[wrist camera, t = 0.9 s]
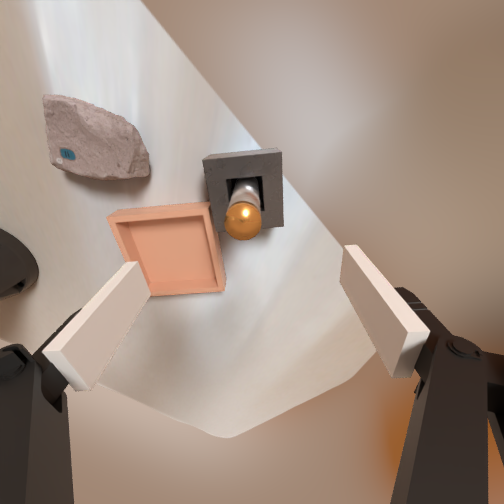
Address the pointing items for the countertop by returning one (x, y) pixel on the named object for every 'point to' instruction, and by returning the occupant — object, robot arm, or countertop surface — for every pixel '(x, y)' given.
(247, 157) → the block
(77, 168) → the decorative stone
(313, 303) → the countertop surface
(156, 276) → the tray
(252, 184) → the pin
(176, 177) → the countertop surface
